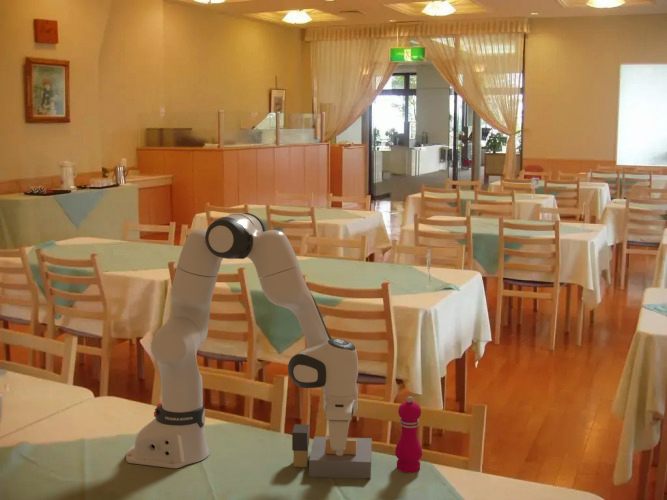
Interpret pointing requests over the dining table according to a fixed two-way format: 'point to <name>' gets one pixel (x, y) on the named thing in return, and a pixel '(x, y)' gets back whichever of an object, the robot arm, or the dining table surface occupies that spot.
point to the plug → (300, 444)
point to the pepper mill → (409, 437)
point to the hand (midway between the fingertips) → (339, 453)
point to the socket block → (340, 460)
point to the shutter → (349, 449)
